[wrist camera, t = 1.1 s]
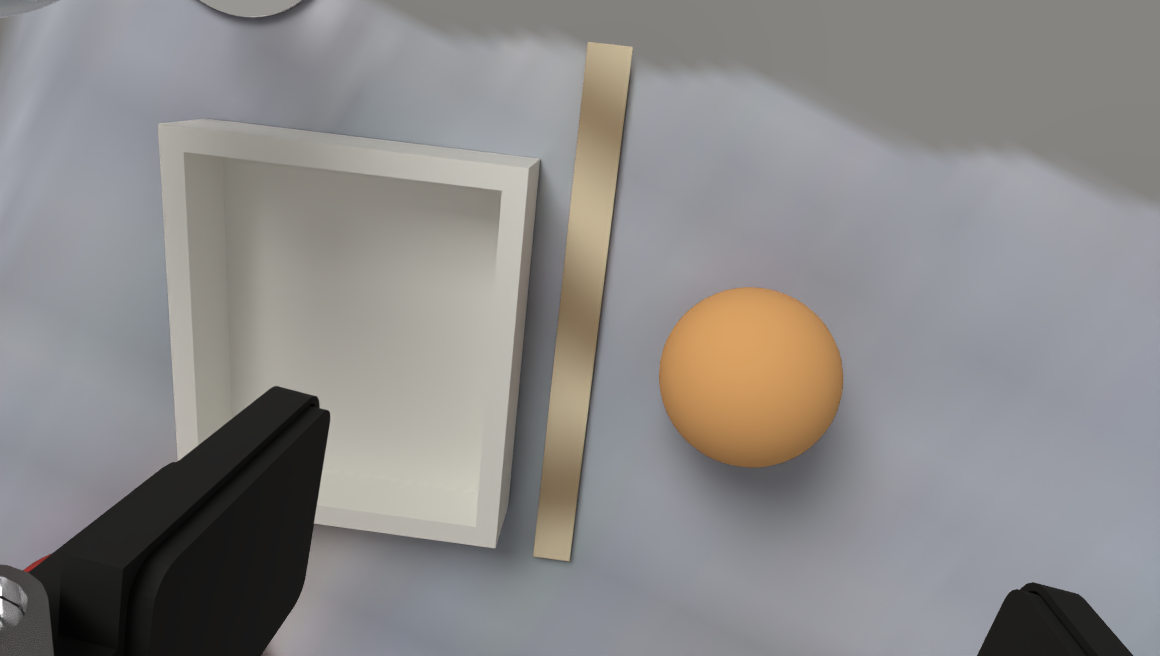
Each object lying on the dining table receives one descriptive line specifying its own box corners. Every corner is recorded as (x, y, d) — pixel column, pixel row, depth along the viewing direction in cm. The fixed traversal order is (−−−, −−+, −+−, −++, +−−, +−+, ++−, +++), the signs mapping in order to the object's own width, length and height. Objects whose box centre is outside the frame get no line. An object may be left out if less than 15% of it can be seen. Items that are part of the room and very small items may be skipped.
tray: (508, 506, 32) (495, 548, 29) (221, 467, 32) (180, 505, 29) (540, 158, 27) (528, 168, 25) (207, 118, 28) (157, 123, 25)
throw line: (569, 557, 32) (569, 561, 32) (534, 552, 32) (533, 556, 32) (632, 47, 26) (632, 47, 26) (588, 42, 26) (587, 41, 26)
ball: (802, 430, 30) (841, 514, 24) (646, 410, 30) (648, 488, 24) (836, 279, 28) (886, 331, 22) (669, 258, 28) (677, 305, 22)
